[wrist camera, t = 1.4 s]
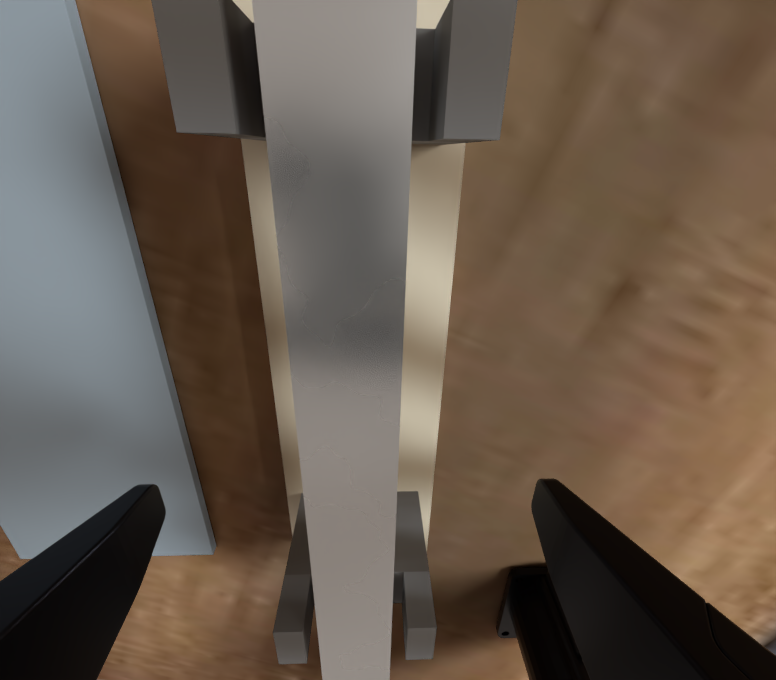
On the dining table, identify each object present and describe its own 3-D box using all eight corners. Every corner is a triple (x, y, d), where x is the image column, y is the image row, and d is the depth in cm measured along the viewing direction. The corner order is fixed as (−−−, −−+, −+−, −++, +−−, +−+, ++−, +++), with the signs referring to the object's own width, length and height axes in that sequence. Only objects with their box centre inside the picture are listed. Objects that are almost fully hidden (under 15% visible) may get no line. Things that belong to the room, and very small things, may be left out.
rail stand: (424, 535, 22) (445, 692, 15) (297, 538, 21) (267, 698, 15) (474, -29, 11) (604, -255, 5) (228, -39, 11) (35, -295, 5)
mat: (216, 546, 21) (213, 554, 21) (28, 550, 21) (20, 558, 21) (56, -71, 11) (42, -80, 10) (-342, -88, 10) (-375, -99, 10)
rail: (386, 624, 17) (388, 694, 15) (330, 626, 17) (324, 697, 14) (408, -75, 7) (424, -174, 5) (275, -82, 7) (233, -184, 5)
